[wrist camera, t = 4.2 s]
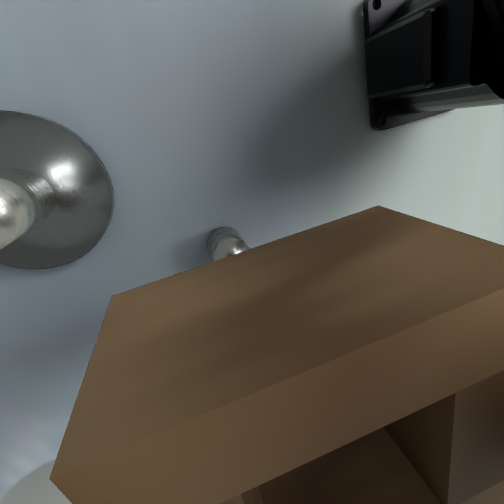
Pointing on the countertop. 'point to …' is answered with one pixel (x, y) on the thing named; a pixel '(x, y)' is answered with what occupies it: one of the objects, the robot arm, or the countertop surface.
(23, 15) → the countertop surface
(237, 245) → the grey metal cylinder
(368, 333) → the wooden square frame
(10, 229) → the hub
